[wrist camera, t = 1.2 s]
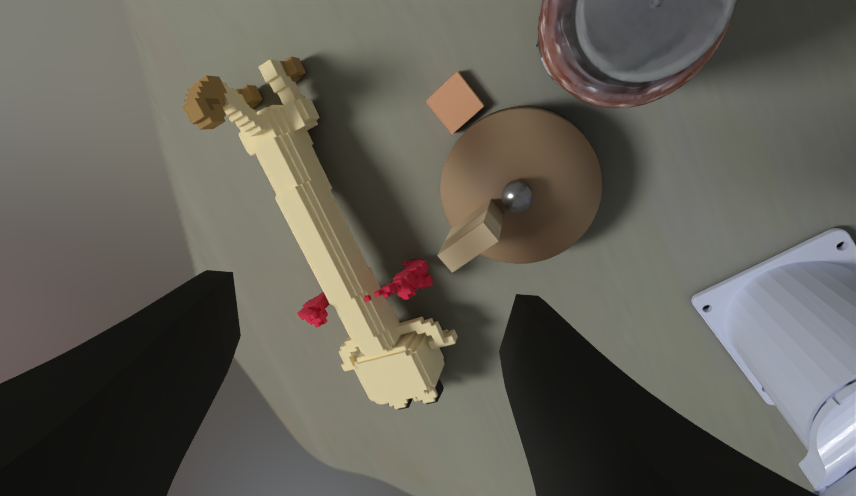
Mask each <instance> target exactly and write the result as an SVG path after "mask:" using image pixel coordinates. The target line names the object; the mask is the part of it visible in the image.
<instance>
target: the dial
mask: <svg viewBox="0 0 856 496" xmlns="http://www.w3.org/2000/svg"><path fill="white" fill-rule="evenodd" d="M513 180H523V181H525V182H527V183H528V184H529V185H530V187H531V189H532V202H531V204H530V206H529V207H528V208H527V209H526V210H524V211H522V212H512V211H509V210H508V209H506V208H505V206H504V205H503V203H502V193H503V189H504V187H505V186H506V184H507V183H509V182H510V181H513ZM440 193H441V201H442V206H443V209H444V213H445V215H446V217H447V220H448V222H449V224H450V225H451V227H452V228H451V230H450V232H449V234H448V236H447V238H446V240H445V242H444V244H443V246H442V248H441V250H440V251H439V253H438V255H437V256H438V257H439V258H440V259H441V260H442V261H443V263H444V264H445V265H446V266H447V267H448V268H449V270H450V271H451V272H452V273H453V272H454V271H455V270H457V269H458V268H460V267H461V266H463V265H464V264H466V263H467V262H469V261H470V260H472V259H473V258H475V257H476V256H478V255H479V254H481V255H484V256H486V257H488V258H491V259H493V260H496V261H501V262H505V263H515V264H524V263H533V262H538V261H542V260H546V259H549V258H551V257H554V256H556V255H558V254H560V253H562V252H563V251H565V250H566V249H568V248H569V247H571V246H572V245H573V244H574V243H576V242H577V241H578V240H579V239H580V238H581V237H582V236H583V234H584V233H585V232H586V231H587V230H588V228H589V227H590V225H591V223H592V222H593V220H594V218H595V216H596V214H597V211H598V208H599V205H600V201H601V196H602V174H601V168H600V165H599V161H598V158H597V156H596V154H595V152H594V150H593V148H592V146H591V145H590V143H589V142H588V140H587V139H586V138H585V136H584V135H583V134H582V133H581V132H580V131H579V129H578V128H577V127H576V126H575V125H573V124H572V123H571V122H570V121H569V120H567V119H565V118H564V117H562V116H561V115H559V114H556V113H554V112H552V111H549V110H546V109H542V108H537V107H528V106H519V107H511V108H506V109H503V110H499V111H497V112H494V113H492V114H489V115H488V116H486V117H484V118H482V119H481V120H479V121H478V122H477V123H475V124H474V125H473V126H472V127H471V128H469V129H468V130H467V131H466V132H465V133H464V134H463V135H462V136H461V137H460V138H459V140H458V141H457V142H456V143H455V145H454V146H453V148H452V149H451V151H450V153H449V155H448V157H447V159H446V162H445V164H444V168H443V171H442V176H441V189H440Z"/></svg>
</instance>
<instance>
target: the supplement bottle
mask: <svg viewBox="0 0 856 496" xmlns="http://www.w3.org/2000/svg"><path fill="white" fill-rule="evenodd" d="M736 2H737V0H543V1H542V5H541V12H540V17H539V25H538V43H537V45H536V47H537V46H538V48H539V52H540V55H541V60H542V62H543V65H544V67H545V69H546V70H547V72H548V74H549V75H550V76H551V78H552V79H553V80H554V81H555V82H556V83H557V84H558V85H560V86H561V87H562V88H563V89H564V90H566V91H567V92H568V93H570V94H571V95H573V96H574V97H576V98H578V99H580V100H582V101H584V102H587V103H589V104H593V105H596V106H599V107H606V108H629V107H635V106H640V105H644V104H647V103H650V102H653V101H655V100H658V99H660V98H662V97H664V96H666V95H668V94H670V93H672V92H673V91H675V90H676V89H678V88H680V87H681V86H682V85H684V84H685V83H687V82H688V81H689V80H690V79H691V78H692V77H693V76H694V75H695V74H696V73H697V72H698V71H699V70H700V69H701V68H702V67H703V66H704V65H705V64H706V63H707V62H708V60H709V59H710V58H711V57H712V56H713V54H714V53H715V51H716V50H717V48H718V46H719V45H720V43H721V41H722V40H723V38H724V36H725V34H726V32H727V29H728V27H729V24H730V21H731V18H732V15H733V12H734V9H735V5H736Z"/></svg>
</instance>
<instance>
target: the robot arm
mask: <svg viewBox="0 0 856 496" xmlns="http://www.w3.org/2000/svg"><path fill="white" fill-rule="evenodd" d="M843 241H844V243H843V245H842V246H841V247H838V248H836V246H837V244H839V243H840V242H843ZM691 301H692V304H693V305H694V307H695V308H696V309H697V311H698V312H699V313H700V315H701V316H702V317H703V319H704V320H705V321H706V323H707V324H708V325H709V327H710V328H711V329H712V331H713V332H714V333H715V335H716V336H717V337H718V339H719V340H720V342H721V343H722V344H723V346H724V347H725V348H726V350H727V351H728V352H729V354H730V355H731V356H732V358H733V359H734V360H735V362H736V363H737V364H738V366H739V367H740V368H741V370H742V371H743V372H744V374H745V375H746V376H747V378H748V379H749V380H750V382H751V383H752V384H753V386H754V387H755V388H756V390H757V391H758V392H759V394H760V395H761V396H762V398H763V399H764V400H765V402H766V403H767V404H770V405H776V407H777V408H778V409H779V411H780V412H781V414H782V415H783V416H784V418H785V419H786V420H787V422H788V423H789V425H790V426H791V427H792V429H793V430H794V432H795V433H796V434H797V436H798V437H799V438H800V440H801V441H802V443H803V444H804V445H805V447H806V448H807V450H808V451H809V452H808V454H807V456H806V457H805V458H804V459H803V460H802V461H801V462H800V463H799V466H800V468H801V469H802V471H803V472H804V474H805V475H806V477H807V478H808V480H809V481H810V483H811V484H812V485H813V487H814V488H815V490H816V492H813V493H812V492H810V491H808V490H806V489H804V488H802V487H800V486H799V485H797V484H795V483H793V482H791V481H789V480H788V479H786V478H784V477H782V476H780V475H779V474H777V473H775V472H773V471H771V470H770V469H768V468H766V467H764V466H762V465H761V464H759V463H757V462H755V461H754V460H752V459H750V458H748V457H747V456H745V455H743V454H742V453H740V452H738V451H737V450H735V449H733V448H732V447H730V446H728V445H727V444H725V443H723V442H722V441H720V440H719V439H717V438H716V437H714V436H712V435H711V434H709V433H708V432H706V431H705V430H703V429H701V428H700V427H698V426H697V425H695V424H694V423H692V422H691V421H689V420H688V419H686V418H685V417H683V416H682V415H680V414H679V413H677V412H676V411H674V410H673V409H672V408H670V407H669V406H668V405H666V404H665V403H663V402H662V401H661V400H659V399H658V398H656V397H655V396H654V395H652V394H651V393H650V392H648V391H647V390H646V389H644V388H643V387H642V386H640V385H639V384H638V383H636V382H635V381H634V380H633V379H631V378H630V377H629V376H628V375H627V374H625V373H624V372H623V371H622V370H621V369H619V368H618V367H617V366H616V365H614V364H613V363H612V362H611V361H610V360H609V359H607V358H606V357H605V356H604V355H603V354H602V353H601V352H599V351H598V350H597V349H596V348H595V347H594V346H593V345H592V344H590V343H589V342H588V341H587V340H586V339H585V338H584V337H583V336H582V335H581V334H580V333H578V332H577V331H576V330H575V329H574V328H573V327H572V326H571V325H570V324H569V323H568V322H567V321H566V320H565V319H564V318H562V317H561V316H560V315H559V314H558V313H557V312H556V311H555V310H554V309H553V308H552V307H551V306H550V305H548V304H547V303H546V302H545V301H544V300H543V299H542V298H540V297H539V296H533V295H520V294H516V297H515V300H514V304H513V307H512V310H511V314H510V317H509V320H508V324H507V327H506V330H505V334H504V337H503V340H502V344H501V347H500V351H499V353H500V360H501V366H502V372H503V378H504V384H505V388H506V392H507V395H508V398H509V402H510V405H511V408H512V412H513V415H514V418H515V422H516V425H517V428H518V431H519V435H520V438H521V441H522V445H523V448H524V451H525V454H526V458H527V461H528V464H529V467H530V471H531V475H532V479H533V482H534V486H535V491H536V496H856V244H855V243H854V241H853V240H852V238H851V237H850V235H849V233H847V232H846V231H845V230H843V229H840V228H832V229H829V230H827V231H825V232H823V233H821V234H819V235H817V236H815V237H813V238H811V239H809V240H807V241H804V242H802V243H800V244H798V245H796V246H794V247H792V248H790V249H788V250H786V251H784V252H782V253H780V254H778V255H776V256H773V257H771V258H769V259H767V260H765V261H763V262H761V263H759V264H757V265H755V266H753V267H751V268H749V269H747V270H745V271H742V272H740V273H738V274H736V275H734V276H732V277H730V278H728V279H726V280H724V281H722V282H720V283H718V284H716V285H714V286H712V287H709V288H707V289H705V290H703V291H701V292H699V293H697V294H695V295H694V296H693V297H692V300H691ZM705 305H710V306H709V308H707V309H702V308H703V307H704V306H705ZM240 336H241V335H240V327H239V319H238V310H237V302H236V294H235V286H234V278H233V272H223V271H211V270H206V271H204V272H203V273H201V274H199V275H197V276H196V277H194V278H192V279H191V280H189V281H187V282H186V283H184V284H182V285H181V286H179V287H178V288H176V289H174V290H173V291H171V292H170V293H168V294H166V295H165V296H163V297H162V298H160V299H158V300H157V301H155V302H153V303H152V304H150V305H148V306H147V307H145V308H144V309H142V310H140V311H139V312H137V313H135V314H134V315H132V316H131V317H129V318H127V319H125V320H123V321H122V322H120V323H118V324H117V325H115V326H113V327H111V328H109V329H107V330H106V331H104V332H102V333H100V334H98V335H97V336H95V337H93V338H91V339H90V340H88V341H86V342H84V343H82V344H81V345H79V346H77V347H75V348H73V349H71V350H69V351H67V352H65V353H64V354H62V355H59V356H58V357H56V358H54V359H52V360H50V361H48V362H45V363H43V364H41V365H39V366H37V367H35V368H33V369H31V370H29V371H27V372H25V373H22V374H20V375H18V376H16V377H14V378H12V379H9V380H7V381H5V382H3V383H1V384H0V496H167V493H168V490H169V488H170V485H171V483H172V481H173V479H174V476H175V474H176V472H177V470H178V468H179V466H180V464H181V462H182V459H183V458H184V456H185V453H186V452H187V450H188V448H189V446H190V444H191V442H192V440H193V438H194V436H195V434H196V433H197V431H198V429H199V427H200V425H201V423H202V421H203V419H204V417H205V415H206V413H207V412H208V410H209V408H210V406H211V404H212V402H213V400H214V398H215V396H216V394H217V392H218V390H219V388H220V386H221V384H222V382H223V380H224V378H225V376H226V374H227V372H228V370H229V367H230V364H231V362H232V359H233V356H234V354H235V351H236V348H237V345H238V342H239V339H240ZM762 387H763V388H762Z"/></svg>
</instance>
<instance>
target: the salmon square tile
mask: <svg viewBox="0 0 856 496" xmlns="http://www.w3.org/2000/svg"><path fill="white" fill-rule="evenodd" d="M426 103H427V104H428V105H429V106H430V107H431V109H432V110H433V111H434V112H435V114H436V115H437V116H438V117H439V119H440V120H441V121H442V122H443V124H444V125H445V126H446V127H447V129H448V130H449V131H450V132H451V134H453V133H454V132H455V131H457V130H458V129H459V128H460V127H461V126H462V125H463V124H465V123H466V122H467V121H468V120H469V119H470V118H471V117H473V116H474V115H475V114H476V113H477V112H478V111H479V110H481V109H482V108H483V107H484V106H485V105H484V103H483V102H482V101H481V99H480V98H479V97H478V96H477V94H476V93H475V92H474V90H473V89H472V88H471V87H470V85H469V84H468V83H467V81H466V80H465V79H464V78H463V76H462V75H461V74H460V72H456V73H455V74H454V75H453V76H452V77H451V78H450V79H449V80H448V81H447V82H446V83H445V84H443V85H442V86H441V87H440V88H439V89H438V90H437V91H436V92H435V93H434V94H433V95H432V96H431V97H430V98H429V99H428V100H427V101H426Z"/></svg>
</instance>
